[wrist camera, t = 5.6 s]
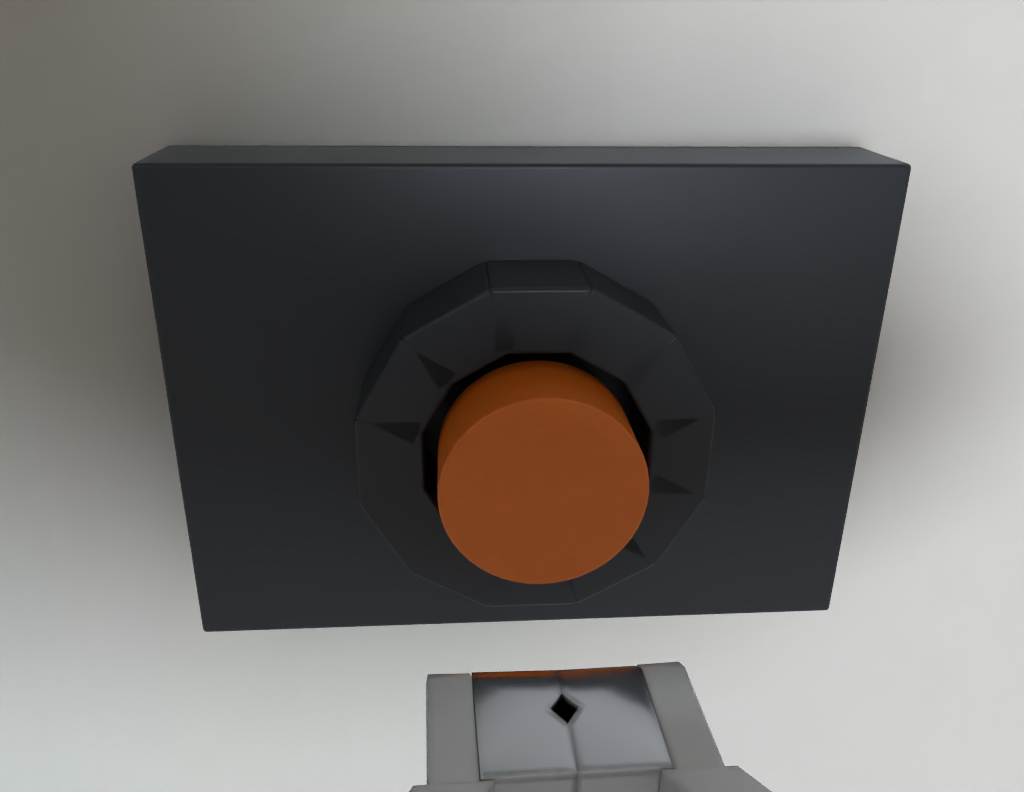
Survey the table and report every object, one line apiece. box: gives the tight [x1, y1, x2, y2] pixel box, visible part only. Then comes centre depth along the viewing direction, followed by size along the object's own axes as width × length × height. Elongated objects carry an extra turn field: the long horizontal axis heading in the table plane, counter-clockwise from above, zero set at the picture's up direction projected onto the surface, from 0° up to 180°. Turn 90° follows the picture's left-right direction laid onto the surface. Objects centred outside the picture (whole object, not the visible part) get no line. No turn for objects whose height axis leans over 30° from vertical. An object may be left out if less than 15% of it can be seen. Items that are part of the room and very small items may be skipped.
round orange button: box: [437, 360, 649, 584], centre depth 16 cm, size 4×4×2 cm
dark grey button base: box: [132, 146, 911, 632], centre depth 18 cm, size 14×10×4 cm
